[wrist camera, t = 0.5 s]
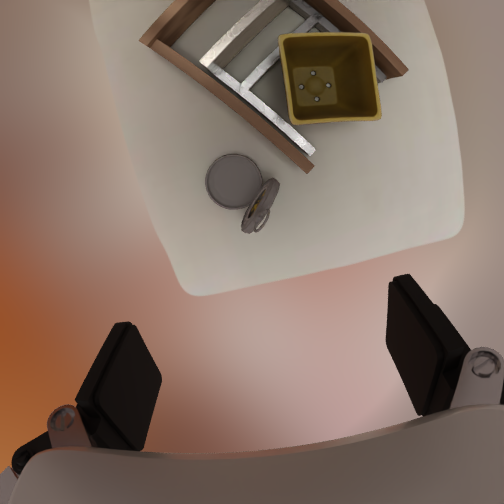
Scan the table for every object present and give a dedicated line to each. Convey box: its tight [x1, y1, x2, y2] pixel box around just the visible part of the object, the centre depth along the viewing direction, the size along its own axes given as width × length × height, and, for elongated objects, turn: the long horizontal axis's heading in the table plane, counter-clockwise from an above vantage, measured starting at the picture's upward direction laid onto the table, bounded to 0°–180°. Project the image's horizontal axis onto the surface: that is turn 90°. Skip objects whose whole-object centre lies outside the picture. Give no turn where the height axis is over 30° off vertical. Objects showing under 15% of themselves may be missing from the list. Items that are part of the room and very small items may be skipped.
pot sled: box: [199, 0, 387, 156], centre depth 27 cm, size 14×15×7 cm
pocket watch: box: [205, 154, 280, 233], centre depth 32 cm, size 8×8×10 cm
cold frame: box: [139, 0, 409, 174], centre depth 27 cm, size 17×23×6 cm
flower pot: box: [278, 32, 382, 125], centre depth 28 cm, size 9×9×9 cm
